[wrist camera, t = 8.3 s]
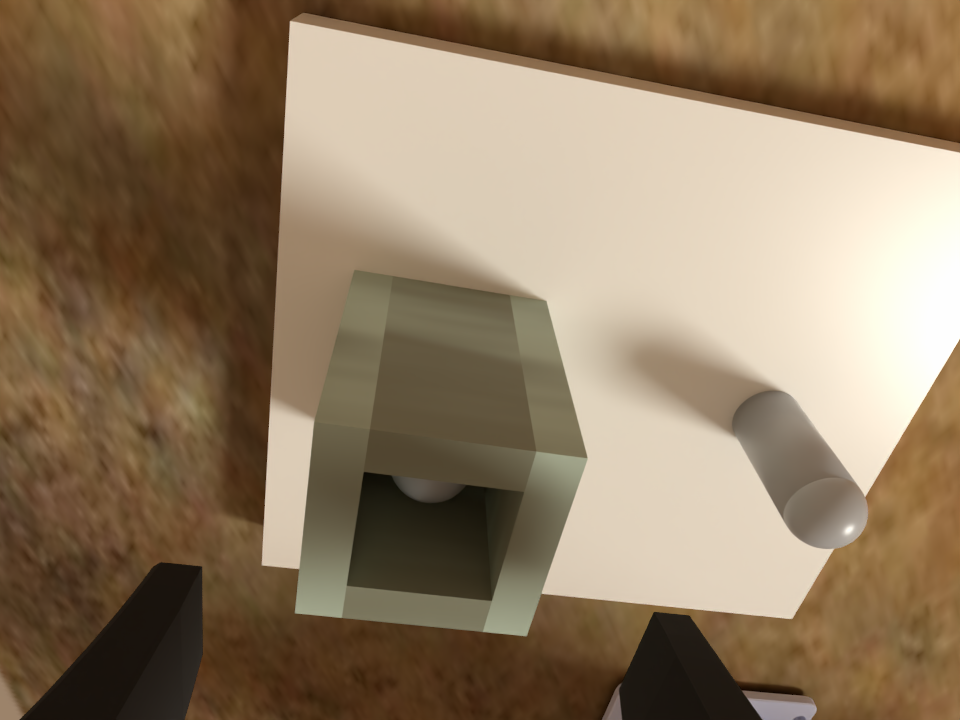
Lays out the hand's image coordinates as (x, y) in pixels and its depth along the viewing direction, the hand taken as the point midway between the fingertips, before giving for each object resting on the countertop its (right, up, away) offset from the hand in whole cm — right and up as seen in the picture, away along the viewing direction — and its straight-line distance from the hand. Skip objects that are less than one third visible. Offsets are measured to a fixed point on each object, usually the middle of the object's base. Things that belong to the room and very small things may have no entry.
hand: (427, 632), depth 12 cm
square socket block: (0, +4, +7) cm, 8 cm away
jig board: (+4, +4, +9) cm, 10 cm away
